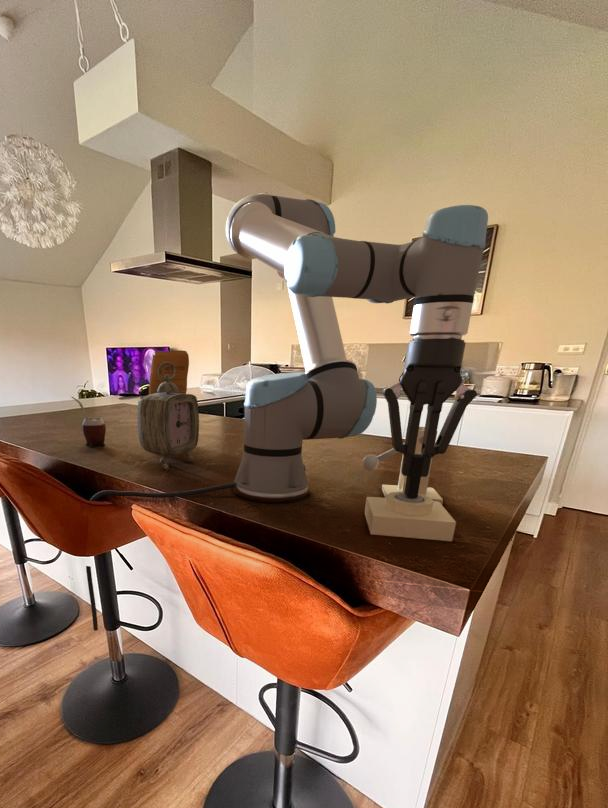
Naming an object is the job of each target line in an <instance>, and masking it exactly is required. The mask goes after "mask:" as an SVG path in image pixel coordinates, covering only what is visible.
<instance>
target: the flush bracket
mask: <svg viewBox="0 0 608 808" xmlns="http://www.w3.org/2000/svg"><path fill="white" fill-rule="evenodd" d="M423 428H424V429H425V426H419V431H418V437H417V443H416V449H415V454H421V447H422V441H423V435H424V430H421V429H423ZM406 432H407V430H406ZM406 432H405V433H406ZM437 438H438V432H437V433H436V439H435V443H436V441H437ZM401 457H402V458H401V463H400V470H399V477H398V483H397V484H382V486H381V491H382V493H383V496H384V498H386V495H387V494H389V493H391V492H404V491H405V485H406V479H407V476H403V474H402V472H401V468H402V462H403V455H402V456H401ZM433 458H434V456H433V457H432V458H431V462H430V467H429V473H428V475H427V477H421V480H420V485H419V491H418V494H422V495H425V496H427V497H430V498H431V499H432V500H433V501H436V502H440V503H441V505H442V506H443V502H444V499H443V497H442V496H441V495H440V494H439V492H437V491H436V489H434V488H433V487H428V485H429V480H430V474H431V469H432V463H433Z"/></svg>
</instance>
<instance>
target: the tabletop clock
mask: <svg viewBox="0 0 608 808" xmlns="http://www.w3.org/2000/svg"><path fill="white" fill-rule="evenodd" d="M165 365H170V366H172V367H173V369H174V375H173V376H172V377H170V376H169V375H168V374H167V375H165V378H164V377H162V376H161V375H160V369H161V368H162V367H163V366H165ZM158 375H159V377H160V379H162V380H163V381H166V382H164V383H161V384H160V385H159V387H158V390H157V391H158V392H166V393H155V394H150V395H149V394H147V395H145V396H144V397H142V398H141V399H140V400H139V401H138V402H137V409H136V412H137V415H136V416H137V429H138V431H137V432H138V439H139V444H140V446H141V448H142V449H143V450H144V451H145V452H148V453H155V454H160V455H161V456H162V457H161V458H160V460H159V461H160V463H161V464H162V466H161V468H162V470H163V471H168V470H169V469H170V466H169V464H168V463H167V461H168V460H167V455H169V456H179V455H185V456H186V460H187V462H193V460H194V457H193V456H192V455H191V454H190V455H189V452H191V451H193V450H194V449H195V448H196V447H197V446H198V442H199V434H200V416H199V415H200V414H199V411H200V410H199V403H198V398H197V396H196V395H194V394H190V393H186V394H177V393H170V392H178V391H179V390H178V387H177V386H176V385H175V384H174V383H171V382H170V380H172V379H174V378H175V376H176V368H175V366H174V365H173V364H172V363H170V362H164V363H162V364H161V365H160V366H159V368H158Z"/></svg>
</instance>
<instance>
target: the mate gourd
mask: <svg viewBox="0 0 608 808" xmlns="http://www.w3.org/2000/svg"><path fill="white" fill-rule="evenodd" d="M71 398H72V399H73V400H74V401H75V402H77V403H78V405H79V407H80V408H81V410H82V413H83V414H84V417H85V419H83V421H82V424H81V430H82V435H83V437H84V439H85V441H86V443H85V445H86V446H89V448H94V447H96V446H97V447H105V446H106V444H105V439H106V433H107V427H106V424H105V421H104V420H103V418H98V417H91V418H89V417H88V415H87V413H86V409H85V408H84V405H83V403H82V402H81V401H80V400H78V399H77V398H76V397H73V396H71Z"/></svg>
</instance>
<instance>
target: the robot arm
mask: <svg viewBox="0 0 608 808" xmlns="http://www.w3.org/2000/svg"><path fill="white" fill-rule="evenodd" d="M488 222H489V214H488V212H487V210H486V209H485V208H484V207H483V206H479V205H473V204H461V205H452V206H448V207H444V208H440V209H437V210H435V211H434V212H432V213H431V214H430V215H429V216H428V217H427V219H426V221H425V225H424V228H423V231H422V237H421V238H418V239H415V240H413V241H410V242H407V243H403V244H402V243H401V244H394V243H385V242H376V241H367V240H355V239H350V238H349V239H348V238H341V237H337V236H335V233H336V221H335V217H334V214H333V212H332V210H331V209H330V207H329V206H328V205H327V204H325V203H323V202H320V201H315V199H307V198H306V199H300V198H293V197H288V196H280V195H271V194H267V193H256V194H255V193H254V194H251V195H247V196H245V197H243V198H241V199H240V200H238V201H237V202H236V203H235V204H234V205H233V206H232V207H231V209H230V210H229V212H228V214H227V218H226V221H225V236H226V240H227V242H228V245H229V246H230V248H231V249H232V250H233V252H235V253H237V254H238V255H239V256H240V257H242V258H244V259H247V260H255V259H257V260H259V261H260V262H262V263H263V264H265V265H266V266H268V267H270V268H272V269H273V270H275V271H276V272H277V275H278V276H279V277H280V278H282V279H283V280H284V281H285V283H286V287H287V292H288V297H289V301H290V305H291V311H292V315H293V321H294V324H295V330H296V333H297V338H298V344H299V346H300V353H301V358H302V363H303V368H304V370H305V371H304V372H284V373H283V372H282V373H273V374H267V375H262V376H261V375H260V376H257V377H254V378H251V379H250V380H249V381H248V383H247V384H246V387H245V397H244V402H243V407H244V415H243V416H244V423H243V424H244V425H243V455H242V458H241V461H240V462H239V463H240V464H239V467H238V469H237V472H236V475H235V478H234V480H233V482H228V483H224V484H223V483H222V484H218V485H213V486H208V487H203V488H198V489H191V490H184V491H175V492H174V491H173V492H146V491H133V490H132V491H131V490H124V491H123V490H111V489H107V490H106V489H105V490H101V491H98V492H97V493H95V494H94V495H92V497H91V498H90V500H89V502H96V501H98V500H99V498H101V497H105V496H116V497H138V498H139V497H140V498H152V499H165V498H166V499H167V498H180V497H188V496H195V495H201V494H205V493H206V494H207V493H211V492H215V491H221V490H227V489H232V488H233V492H234V494H236V495H237V496H238V497H241V498H244V499H246V500H250V501H255V502H262V503H289V502H295V501H299V500H301V499H304V498H305V497H307V495H308V492H309V482H308V481H309V480H308V477H307V474H306V465H305V464H304V461H303V457H302V454H303V453H302V452H303V441H306V440H307V441H308V440H309V441H310V440H326V439H327V440H328V439H329V440H330V439H340V440H342V439H346V438H352V437H356V436H357V437H358V436H359V435H361V434H363V433H364V432H365V431H366V430H367V429H368V428H369V426H370V425H371V423H372V421H373V419H374V416H375V414H376V411H377V404H378V403H377V401H378V395H377V390H376V387H375V386H374V383H373V382H371V381H369V380H368V379H366V378H360V376H359V372H358V368H357V365H356V363H355V362H353V361H352V360H350V359H348V358H347V356H346V355H347V354H346V350H345V347H344V343H343V338H342V334H341V329H340V324H339V321H338V316H337V312H336V308H335V307H336V306H335V304H334V298H343V299H344V298H346V299H357V300H366V301H368V302H369V303H372V304H386V305H387V304H392V303H394V302H398V301H403V300H408V299H412V298H413V307H412V314H411V322H410V325H409V326H410V327H409V336H411V337H412V339H411V340H409V342H408V343H407V348H406V354H405V360H404V361H405V362H404V367H403V372H402V373H401V375H400V376H399V378H398V381H397V382H395V383H393V384H392V385H390V386H388V387H387V386H386V387H384V388H383V389H382V391H381V392H382V393H381V394H382V396H383V397H384V399H385V400H386V402H387V408H388V418H389V428H390V436H391V446H392V448H394V449H395V450H396V451H397V452H398V453H400V454H402V456H403V462H402V461H401V463H402V468H401V467H400V469H401V472H402V474H403V476H407V479H406V485H405V491H404V493H405V495H406V496H407V498H417V497H418V491H419V485H420V480H421V477H427V475H428V473H429V467H430V462H431V458H432V457H433V458H434V456H436V455H443V454H445V453H446V452H447V450H448V448H449V446H450V443H451V442H452V439H453V437H454V435H455V432H456V430H457V428H458V426H459V424H460V422H461V420H462V417H463V415H464V413H465V411H466V409H467V407H468V405H470V404H471V402H472V401H473V400H474V399H475V398H476V397H477V395H478V393H477V391H476V390H475V389H470V388H469V387H468V386H466V385H465V384H464V383H463V376H462V373H461V370H462V365H463V359H464V355H465V350H466V344H467V342H466V341H465V339H463V336H466V335H467V334H468V333H469V327H470V322H471V315H472V310H473V306H474V300H475V293H476V288H477V285H478V279H479V275H480V269H481V264H482V261H483V255H484V252H485V249H486V245H487V244H486V240H487V233H488V232H487V231H488V224H489V223H488ZM401 390H402V391H403V393H404V395H405V397H406V398H407V400H408V401H409V402H410V404H409V414H408V420H407V426H406V431H407V432H405V437H404V438H405V439H404V442H405V444H403V443H404V442H403V433H402V431H403V430H402V423H401V413H400V405H399V400H398V399H400V397H401ZM454 393H455V394H454ZM453 394H454V399H455V400H454V402H453V403H452V405H451V407H450V409H449V411H448V413H447V416H446V418H445V420H444V423H443V425H442V427H441V430H440V432H439V434H438V429H439V421H440V417H441V412H442V410H443V405H444V403H446V401H447V400H448V399H450V397H451V396H452V395H453ZM425 405H427V407H426V409H427V413H426V417H425V425H424V427H425V429H424V435H423V441H422V447H421V454H415V449H416V443H417V437H418V431H419V427H420V425H421V418H422V413H423V410H424V407H425ZM436 433H437V434H438V435H437V437H436ZM435 439H436V442H435ZM85 572H86V580H87V587H88V594H89V601H90V608H91V616H92V617H91V618H92V628H93V631H95V632H96V631H98V630H99V626H98V625H99V624H98V615H97V614H98V613H97V606H96V598H95V591H94V584H93V575H92V565H91V566H90V565H85Z"/></svg>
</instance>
